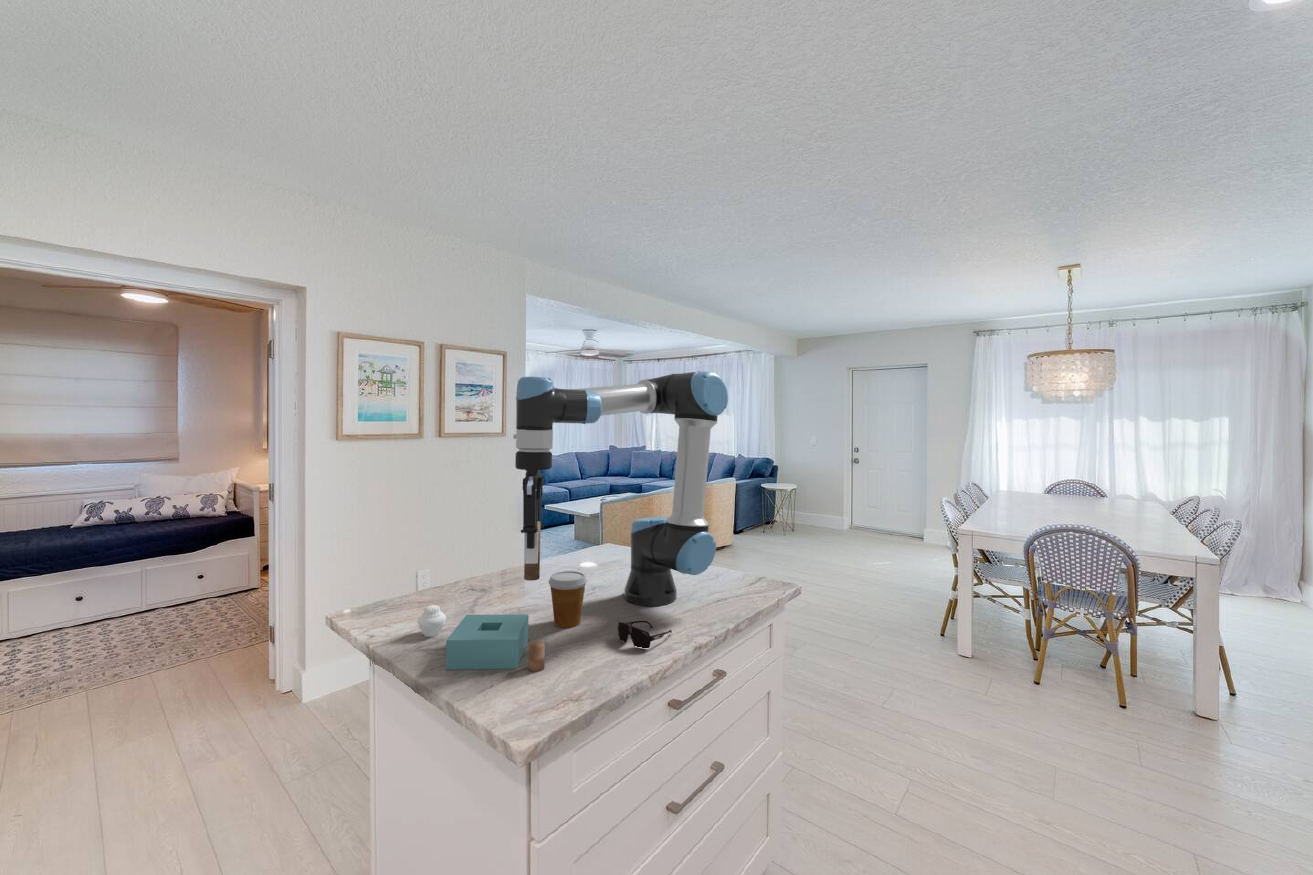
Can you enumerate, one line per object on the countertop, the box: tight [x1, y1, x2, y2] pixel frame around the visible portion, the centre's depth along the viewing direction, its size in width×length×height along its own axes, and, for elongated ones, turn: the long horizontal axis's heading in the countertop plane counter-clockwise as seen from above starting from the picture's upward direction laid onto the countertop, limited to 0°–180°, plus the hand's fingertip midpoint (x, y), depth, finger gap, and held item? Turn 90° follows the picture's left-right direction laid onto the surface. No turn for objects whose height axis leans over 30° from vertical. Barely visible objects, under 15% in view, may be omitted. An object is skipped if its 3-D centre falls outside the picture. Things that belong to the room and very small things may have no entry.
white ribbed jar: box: [417, 604, 447, 638], centre depth 123 cm, size 6×6×7 cm
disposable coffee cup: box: [548, 570, 588, 629], centre depth 132 cm, size 10×10×12 cm
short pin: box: [527, 640, 546, 673], centre depth 107 cm, size 3×3×5 cm
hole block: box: [445, 613, 530, 671], centre depth 114 cm, size 14×14×6 cm
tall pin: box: [523, 521, 542, 582], centre depth 111 cm, size 3×3×12 cm
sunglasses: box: [617, 620, 673, 649], centre depth 123 cm, size 10×12×5 cm
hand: (532, 560), depth 112 cm, fingers closed on tall pin, 3 cm apart
